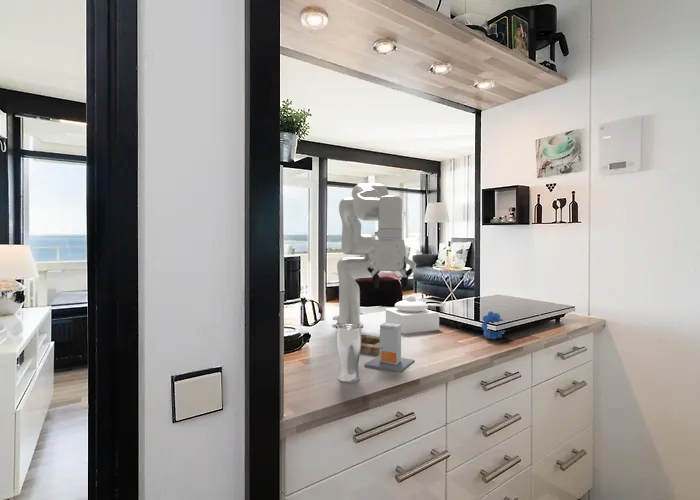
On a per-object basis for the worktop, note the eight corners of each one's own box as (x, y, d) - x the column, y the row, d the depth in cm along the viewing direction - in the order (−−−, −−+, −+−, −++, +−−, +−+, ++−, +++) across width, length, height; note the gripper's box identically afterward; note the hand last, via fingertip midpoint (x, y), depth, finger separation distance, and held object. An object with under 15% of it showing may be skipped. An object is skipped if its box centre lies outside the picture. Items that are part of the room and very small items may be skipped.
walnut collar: (343, 350, 133) (343, 342, 133) (362, 342, 145) (362, 334, 145) (378, 356, 126) (378, 348, 126) (394, 347, 138) (394, 339, 138)
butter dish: (439, 333, 161) (439, 296, 161) (402, 336, 155) (402, 298, 155) (418, 324, 178) (418, 291, 178) (384, 327, 172) (384, 293, 172)
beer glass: (341, 373, 110) (341, 323, 109) (364, 376, 108) (363, 324, 107) (333, 382, 103) (333, 328, 103) (357, 384, 101) (357, 330, 101)
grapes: (490, 345, 140) (490, 314, 140) (477, 341, 146) (477, 311, 146) (512, 342, 145) (512, 311, 145) (499, 338, 151) (499, 309, 151)
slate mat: (364, 367, 115) (364, 364, 115) (381, 357, 126) (381, 354, 126) (399, 374, 109) (399, 370, 109) (414, 362, 120) (414, 359, 119)
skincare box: (379, 362, 117) (379, 324, 116) (383, 358, 120) (383, 322, 120) (397, 365, 114) (397, 326, 114) (401, 361, 118) (401, 324, 118)
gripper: (360, 235, 118) (360, 288, 118) (411, 234, 109) (411, 292, 110) (371, 235, 125) (371, 286, 125) (420, 235, 116) (420, 289, 116)
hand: (389, 288), depth 117 cm, fingers open, 9 cm apart
